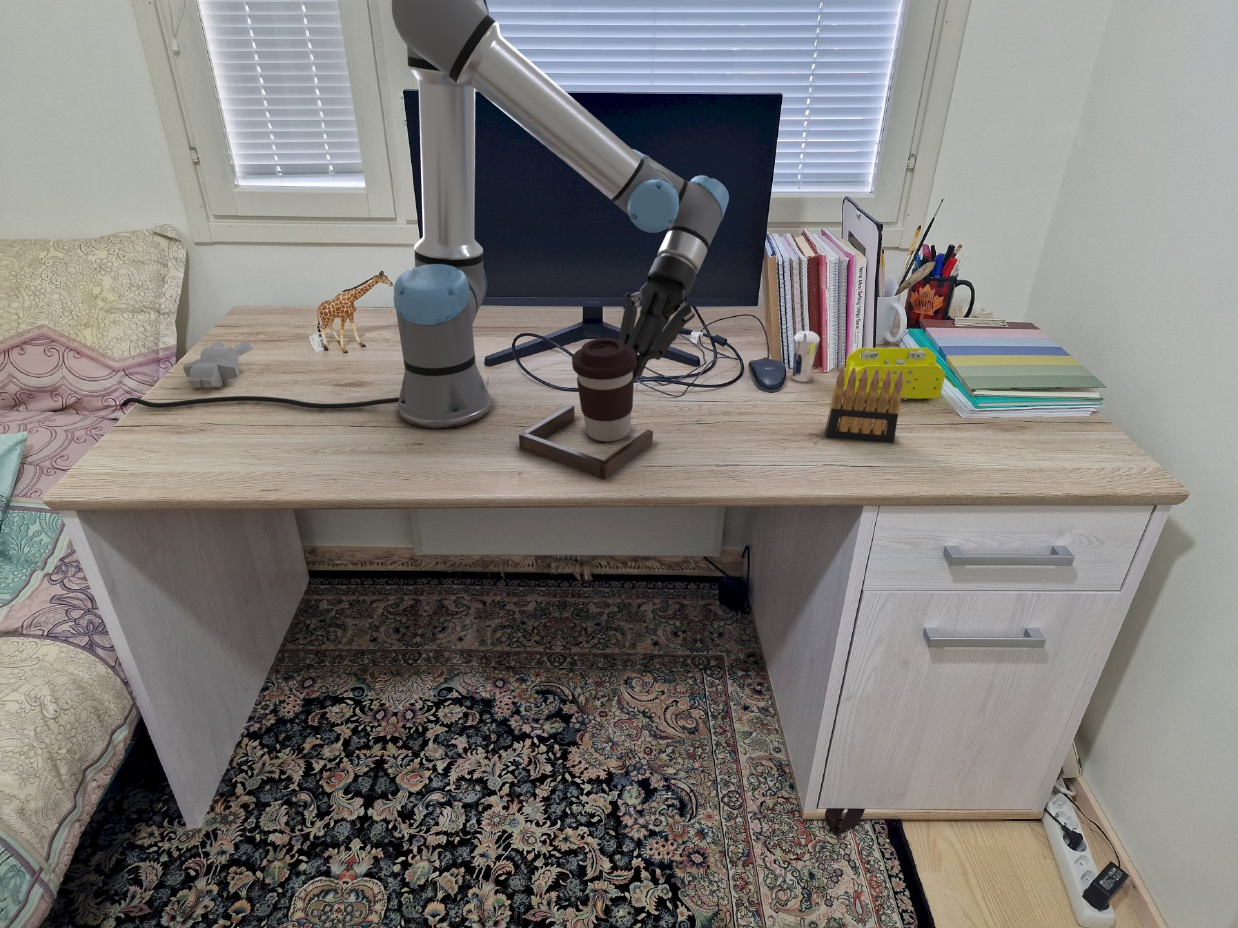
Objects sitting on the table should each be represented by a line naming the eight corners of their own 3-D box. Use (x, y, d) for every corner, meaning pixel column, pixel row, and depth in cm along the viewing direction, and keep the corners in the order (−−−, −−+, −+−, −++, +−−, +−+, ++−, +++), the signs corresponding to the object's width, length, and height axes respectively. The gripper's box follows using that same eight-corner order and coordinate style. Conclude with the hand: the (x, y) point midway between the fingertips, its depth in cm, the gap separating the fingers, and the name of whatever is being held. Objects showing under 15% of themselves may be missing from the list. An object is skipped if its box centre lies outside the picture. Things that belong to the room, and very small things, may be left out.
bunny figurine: (169, 372, 133) (204, 332, 145) (179, 397, 137) (212, 356, 148) (224, 372, 134) (254, 332, 146) (232, 397, 137) (261, 356, 149)
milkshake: (785, 382, 141) (792, 332, 136) (791, 372, 146) (798, 322, 141) (810, 387, 140) (818, 335, 135) (815, 376, 144) (823, 325, 139)
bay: (570, 417, 128) (569, 404, 127) (652, 444, 121) (653, 430, 119) (519, 448, 119) (518, 434, 118) (605, 479, 111) (605, 465, 110)
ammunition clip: (825, 437, 123) (836, 368, 117) (824, 431, 125) (835, 364, 119) (893, 443, 122) (908, 373, 116) (892, 437, 123) (907, 369, 117)
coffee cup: (634, 449, 119) (631, 362, 111) (572, 445, 120) (564, 360, 112) (642, 417, 127) (640, 334, 119) (584, 414, 129) (578, 332, 120)
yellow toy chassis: (927, 389, 139) (937, 346, 135) (939, 403, 135) (949, 359, 130) (840, 389, 139) (847, 347, 135) (849, 403, 134) (857, 359, 130)
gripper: (717, 284, 127) (662, 410, 124) (651, 271, 133) (597, 391, 130) (704, 259, 121) (646, 392, 117) (635, 247, 127) (578, 373, 123)
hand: (620, 391), depth 123 cm, fingers closed
